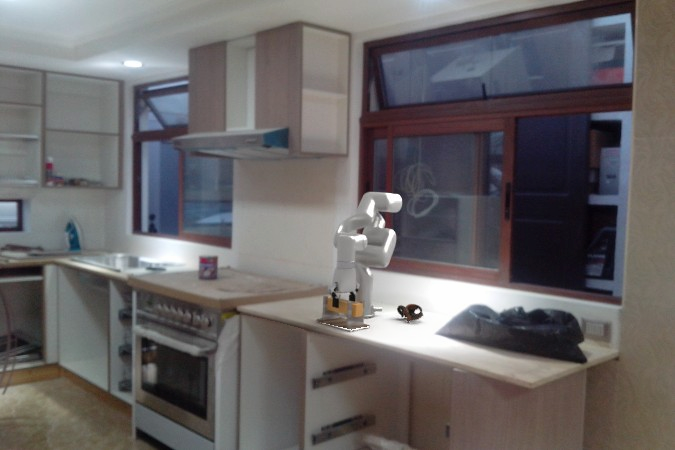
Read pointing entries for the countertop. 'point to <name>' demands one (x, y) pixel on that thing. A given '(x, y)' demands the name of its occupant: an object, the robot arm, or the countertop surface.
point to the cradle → (335, 320)
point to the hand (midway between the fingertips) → (343, 305)
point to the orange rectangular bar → (356, 307)
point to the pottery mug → (410, 312)
